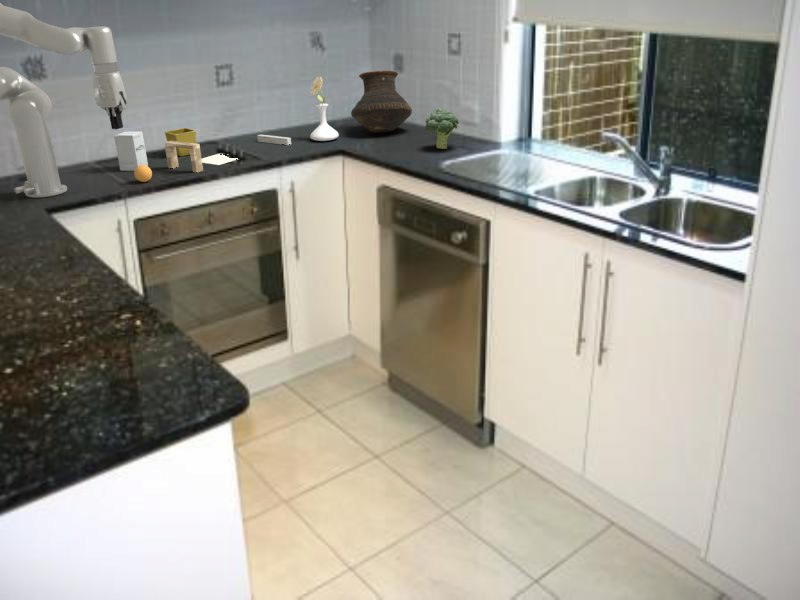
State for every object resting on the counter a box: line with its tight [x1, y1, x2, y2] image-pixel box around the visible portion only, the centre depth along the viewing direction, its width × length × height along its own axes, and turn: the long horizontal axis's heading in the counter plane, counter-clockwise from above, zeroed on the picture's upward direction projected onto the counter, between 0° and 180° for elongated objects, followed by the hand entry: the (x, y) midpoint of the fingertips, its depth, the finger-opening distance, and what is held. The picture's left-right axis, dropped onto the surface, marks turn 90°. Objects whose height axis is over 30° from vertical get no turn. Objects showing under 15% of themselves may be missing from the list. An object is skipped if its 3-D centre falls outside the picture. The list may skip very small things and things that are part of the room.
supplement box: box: [113, 131, 149, 172], centre depth 277 cm, size 7×7×13 cm
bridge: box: [163, 140, 204, 173], centre depth 273 cm, size 3×15×9 cm, turn 56°
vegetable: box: [425, 107, 460, 150], centre depth 285 cm, size 12×13×15 cm
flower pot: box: [164, 127, 197, 157], centre depth 295 cm, size 9×9×9 cm
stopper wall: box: [256, 134, 292, 146], centre depth 309 cm, size 2×16×2 cm, turn 56°
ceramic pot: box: [350, 70, 413, 134], centre depth 314 cm, size 24×24×22 cm
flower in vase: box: [309, 76, 340, 142], centre depth 305 cm, size 13×11×25 cm
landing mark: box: [201, 153, 239, 166], centre depth 287 cm, size 13×13×1 cm
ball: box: [133, 165, 153, 183], centre depth 261 cm, size 6×6×6 cm
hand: (117, 128), depth 249 cm, fingers closed
